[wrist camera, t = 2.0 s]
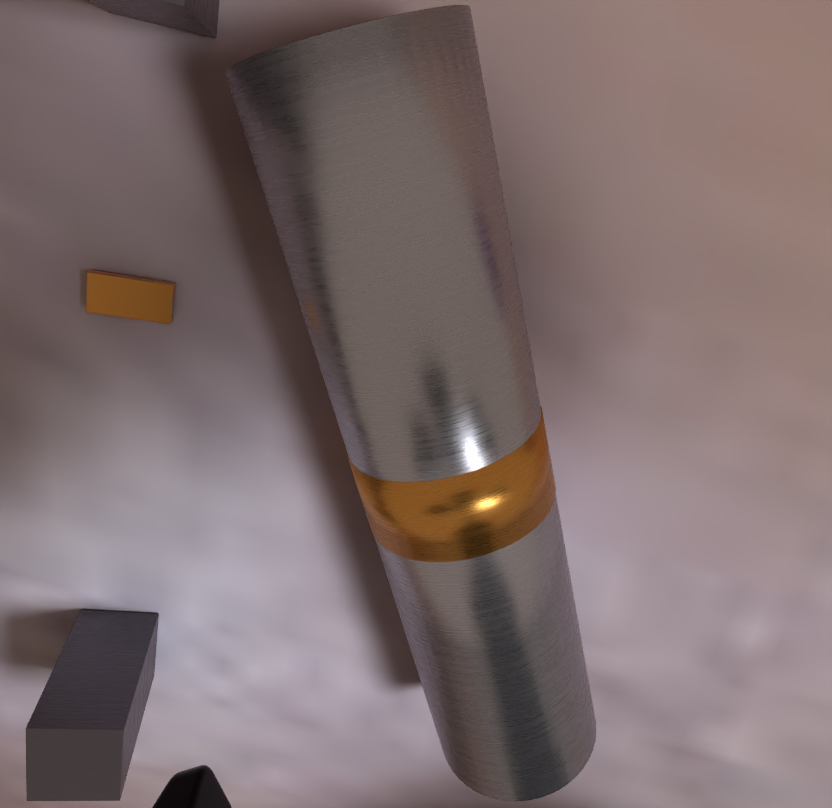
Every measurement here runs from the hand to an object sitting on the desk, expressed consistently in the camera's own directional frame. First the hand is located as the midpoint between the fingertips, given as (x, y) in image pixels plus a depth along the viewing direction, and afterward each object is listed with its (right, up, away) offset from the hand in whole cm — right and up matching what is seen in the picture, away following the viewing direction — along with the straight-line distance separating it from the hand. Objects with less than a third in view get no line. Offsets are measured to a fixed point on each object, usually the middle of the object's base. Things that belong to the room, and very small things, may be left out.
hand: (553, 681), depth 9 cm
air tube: (-1, +3, +7) cm, 8 cm away
